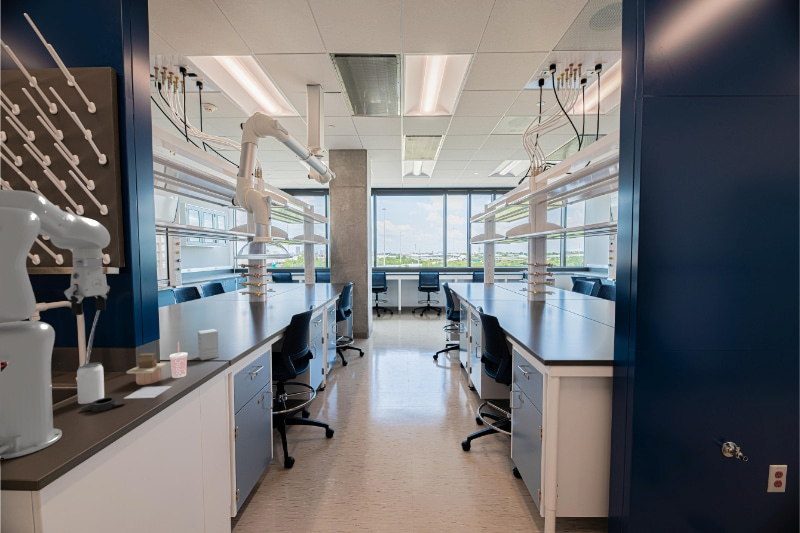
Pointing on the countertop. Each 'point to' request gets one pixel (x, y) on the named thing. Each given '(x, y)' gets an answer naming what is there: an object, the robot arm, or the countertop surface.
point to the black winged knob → (102, 404)
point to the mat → (148, 392)
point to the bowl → (148, 377)
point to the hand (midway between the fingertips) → (89, 312)
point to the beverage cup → (178, 364)
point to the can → (90, 383)
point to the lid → (147, 364)
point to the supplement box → (208, 344)
